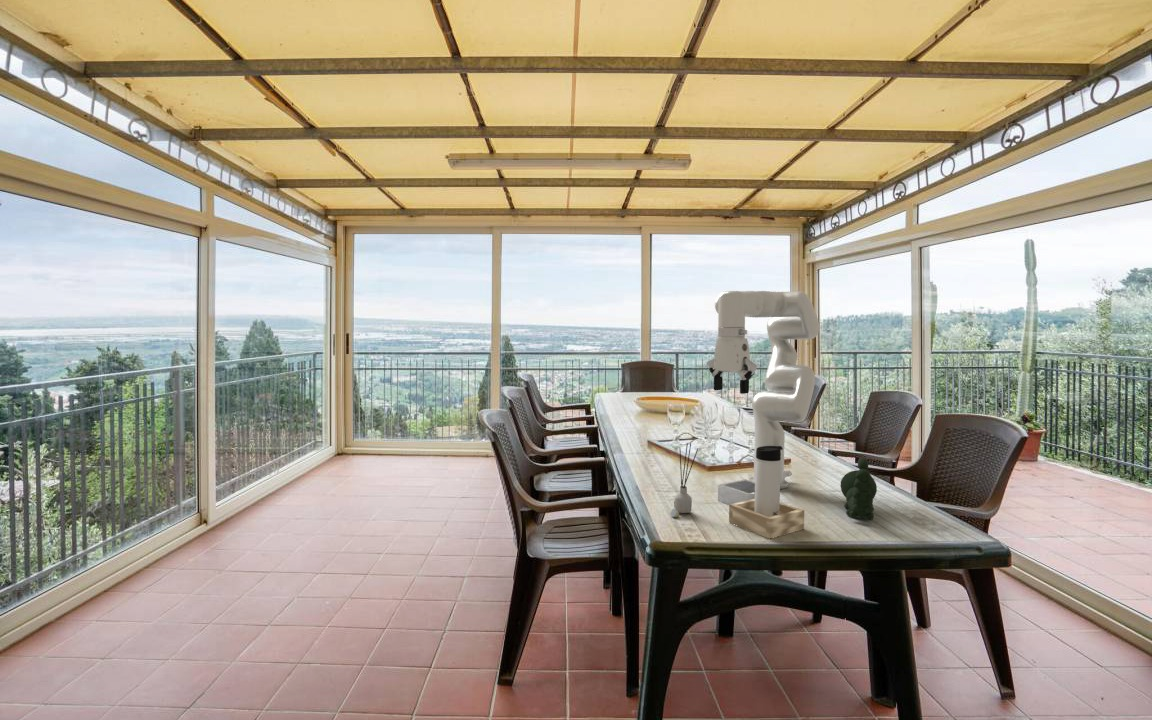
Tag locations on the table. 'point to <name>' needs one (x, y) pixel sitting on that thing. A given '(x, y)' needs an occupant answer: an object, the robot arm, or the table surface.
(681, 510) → the reed diffuser
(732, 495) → the open box
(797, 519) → the light wooden tray
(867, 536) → the table surface
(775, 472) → the travel mug
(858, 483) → the toy figurine
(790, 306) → the robot arm
